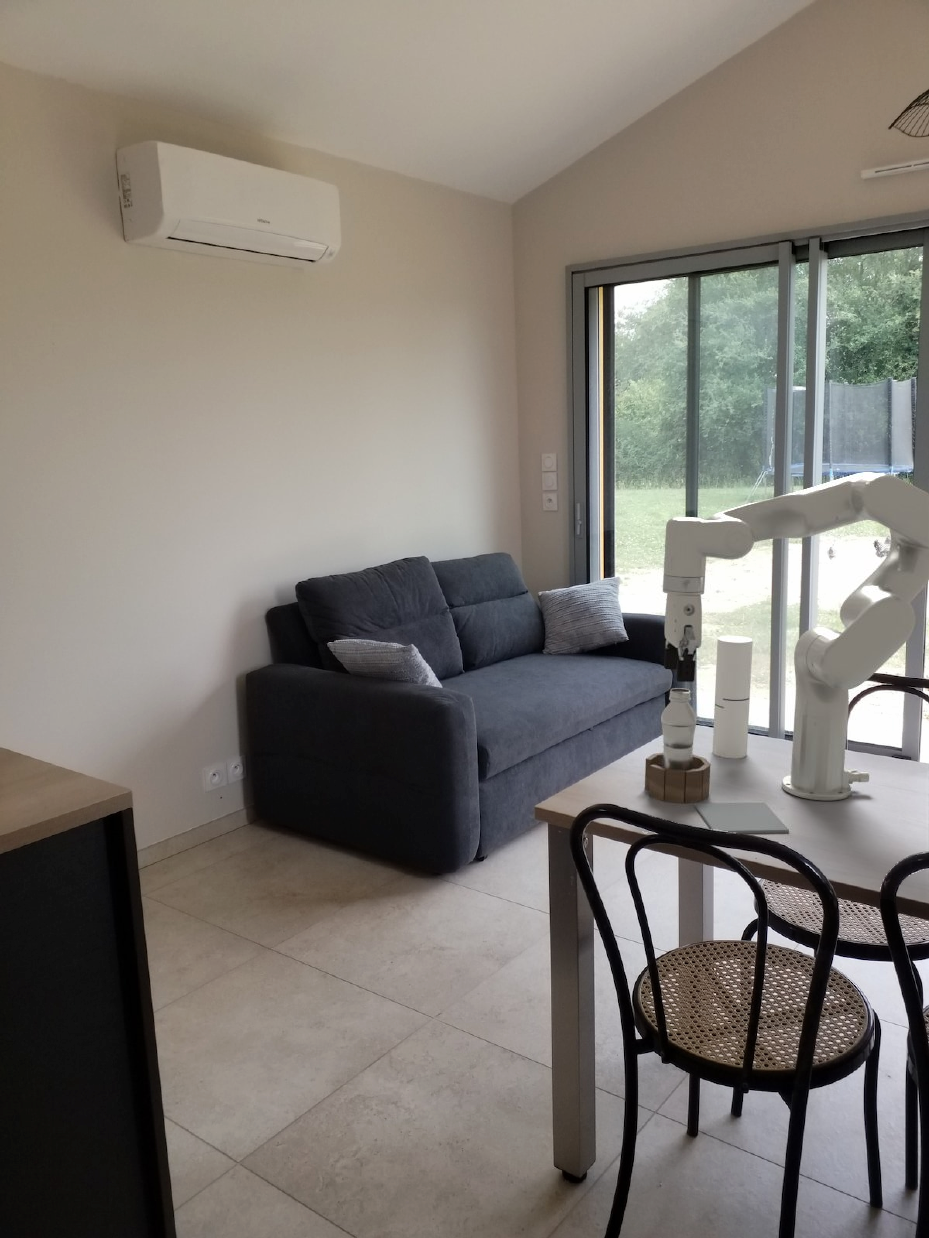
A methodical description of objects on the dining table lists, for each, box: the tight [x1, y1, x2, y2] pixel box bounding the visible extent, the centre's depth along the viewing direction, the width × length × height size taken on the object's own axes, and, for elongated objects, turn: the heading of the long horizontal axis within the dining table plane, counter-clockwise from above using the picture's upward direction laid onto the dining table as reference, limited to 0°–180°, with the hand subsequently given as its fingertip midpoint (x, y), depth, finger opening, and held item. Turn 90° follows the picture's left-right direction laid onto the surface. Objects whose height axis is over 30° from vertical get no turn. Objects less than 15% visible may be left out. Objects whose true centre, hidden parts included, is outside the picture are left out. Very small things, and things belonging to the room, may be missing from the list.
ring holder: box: [644, 752, 711, 804], centre depth 191 cm, size 12×12×6 cm
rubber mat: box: [693, 802, 790, 834], centre depth 178 cm, size 13×13×1 cm
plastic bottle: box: [660, 687, 698, 771], centre depth 190 cm, size 6×7×20 cm
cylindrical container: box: [712, 635, 754, 759], centre depth 213 cm, size 7×7×25 cm
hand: (678, 674), depth 188 cm, fingers open, 9 cm apart
